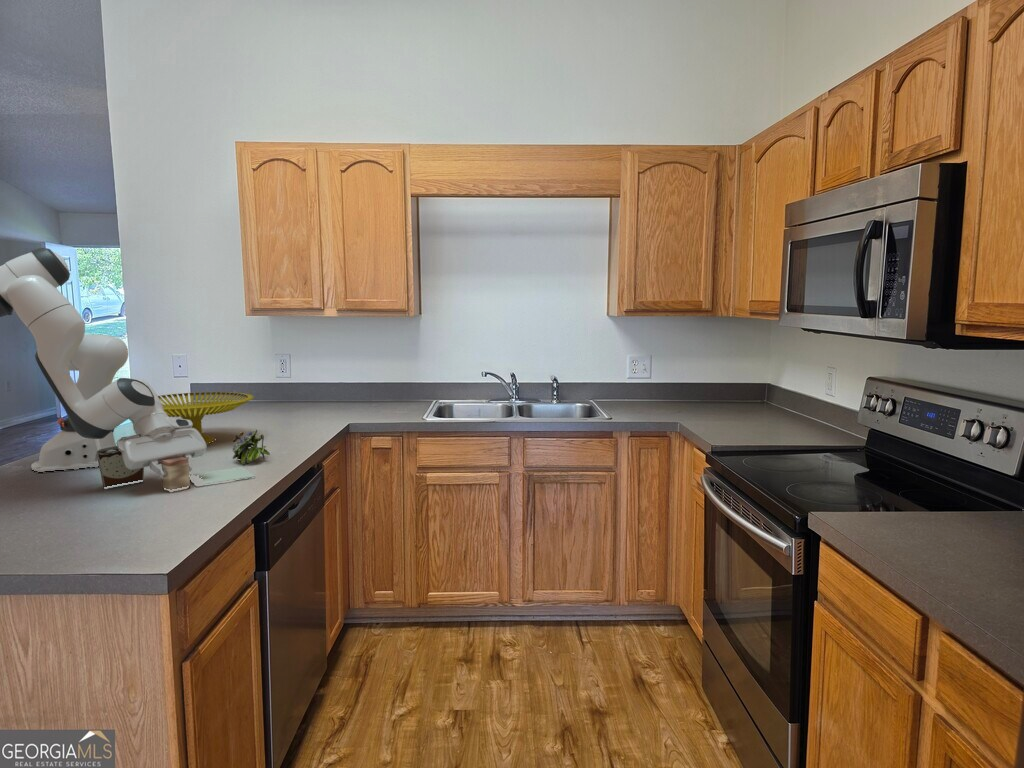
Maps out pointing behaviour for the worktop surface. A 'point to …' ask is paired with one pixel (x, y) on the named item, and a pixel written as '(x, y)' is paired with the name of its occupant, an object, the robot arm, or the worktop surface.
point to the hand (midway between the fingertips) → (176, 473)
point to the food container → (116, 467)
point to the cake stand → (202, 407)
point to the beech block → (176, 473)
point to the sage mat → (224, 475)
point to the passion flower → (243, 446)
